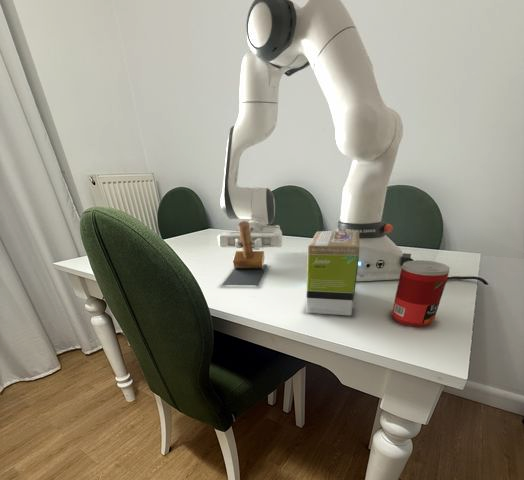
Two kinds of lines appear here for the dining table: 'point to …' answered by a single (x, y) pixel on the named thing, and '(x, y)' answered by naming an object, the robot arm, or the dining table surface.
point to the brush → (247, 252)
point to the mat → (245, 277)
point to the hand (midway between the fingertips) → (246, 245)
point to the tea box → (332, 272)
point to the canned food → (419, 292)
